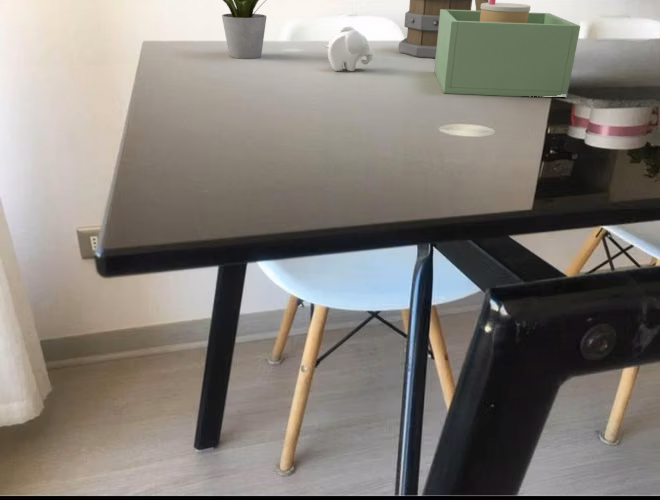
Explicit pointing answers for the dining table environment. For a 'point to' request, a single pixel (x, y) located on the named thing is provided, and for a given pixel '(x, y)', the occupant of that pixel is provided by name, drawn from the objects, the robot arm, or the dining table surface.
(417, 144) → the dining table surface
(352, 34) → the elephant figurine
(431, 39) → the tankard
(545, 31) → the bin
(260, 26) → the house plant
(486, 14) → the straw cup
